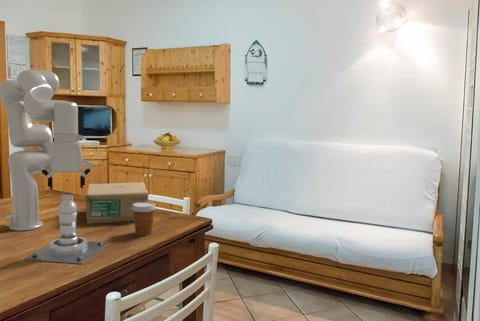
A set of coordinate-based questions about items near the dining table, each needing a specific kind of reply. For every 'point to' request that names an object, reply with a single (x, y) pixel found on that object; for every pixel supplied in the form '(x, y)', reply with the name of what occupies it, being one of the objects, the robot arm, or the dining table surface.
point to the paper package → (113, 201)
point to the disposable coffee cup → (143, 217)
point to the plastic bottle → (67, 221)
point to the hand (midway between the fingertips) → (66, 188)
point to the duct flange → (67, 252)
